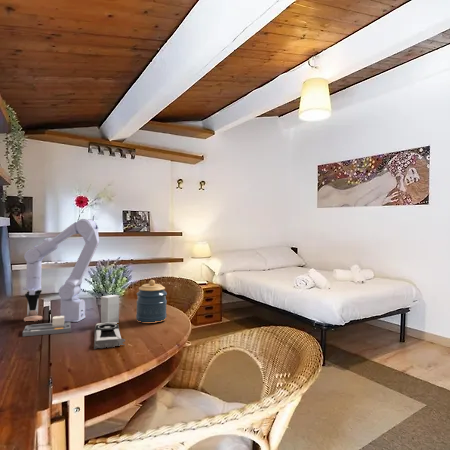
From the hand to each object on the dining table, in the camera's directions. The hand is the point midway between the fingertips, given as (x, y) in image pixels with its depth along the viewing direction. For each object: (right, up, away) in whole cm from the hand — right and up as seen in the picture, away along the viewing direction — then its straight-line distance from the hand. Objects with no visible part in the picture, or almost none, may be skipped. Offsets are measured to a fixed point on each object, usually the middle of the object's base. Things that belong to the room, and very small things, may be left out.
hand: (33, 308), depth 155 cm
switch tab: (+17, -3, -14) cm, 23 cm away
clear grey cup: (0, -2, 0) cm, 2 cm away
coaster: (0, -5, 0) cm, 5 cm away
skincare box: (+35, -5, -6) cm, 36 cm away
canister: (+50, -6, +2) cm, 51 cm away
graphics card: (+40, -6, -22) cm, 46 cm away
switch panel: (+14, -5, -16) cm, 22 cm away
